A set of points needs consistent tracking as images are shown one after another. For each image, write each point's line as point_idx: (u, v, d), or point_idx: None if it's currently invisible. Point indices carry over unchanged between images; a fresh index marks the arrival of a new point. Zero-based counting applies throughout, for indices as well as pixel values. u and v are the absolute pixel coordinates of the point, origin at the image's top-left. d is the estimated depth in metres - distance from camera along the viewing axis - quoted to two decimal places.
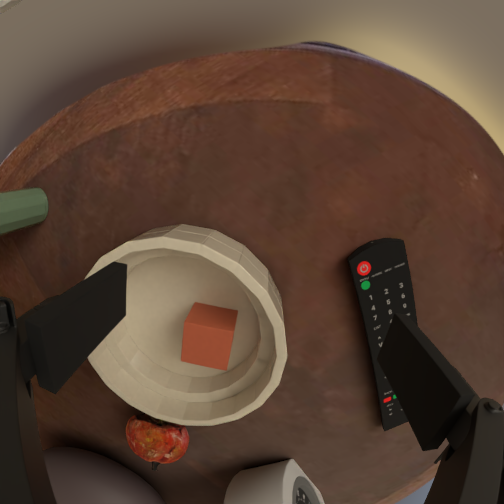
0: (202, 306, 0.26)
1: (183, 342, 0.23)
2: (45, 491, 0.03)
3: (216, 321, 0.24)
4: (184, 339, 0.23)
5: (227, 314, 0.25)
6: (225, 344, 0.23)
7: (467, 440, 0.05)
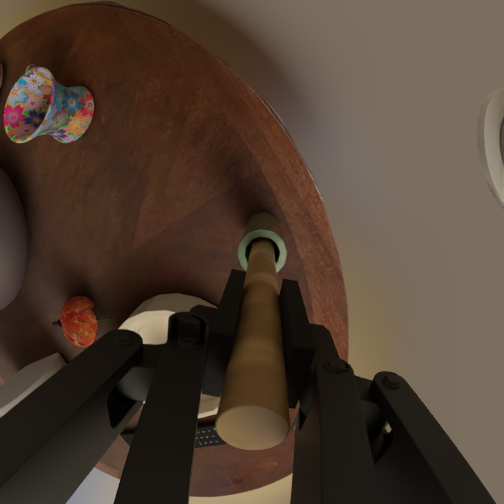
0: None
1: None
2: None
3: None
4: None
5: None
6: None
7: (313, 409, 0.07)
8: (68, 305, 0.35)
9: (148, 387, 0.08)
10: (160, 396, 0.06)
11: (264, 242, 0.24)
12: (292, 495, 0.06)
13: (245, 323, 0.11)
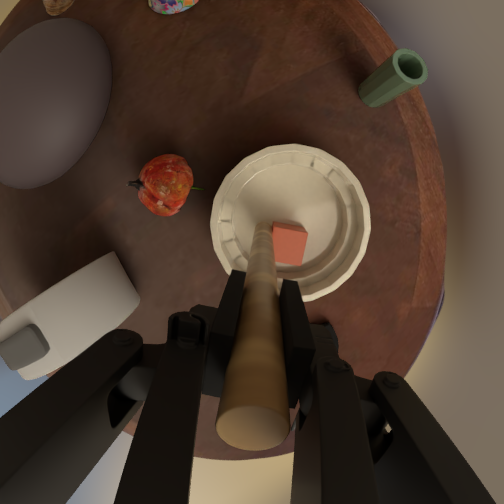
0: None
1: (291, 230, 0.33)
2: None
3: None
4: (293, 231, 0.33)
5: None
6: (290, 260, 0.34)
7: (313, 409, 0.07)
8: (156, 157, 0.32)
9: (148, 387, 0.08)
10: (160, 396, 0.06)
11: (264, 242, 0.24)
12: (292, 495, 0.06)
13: (245, 323, 0.11)
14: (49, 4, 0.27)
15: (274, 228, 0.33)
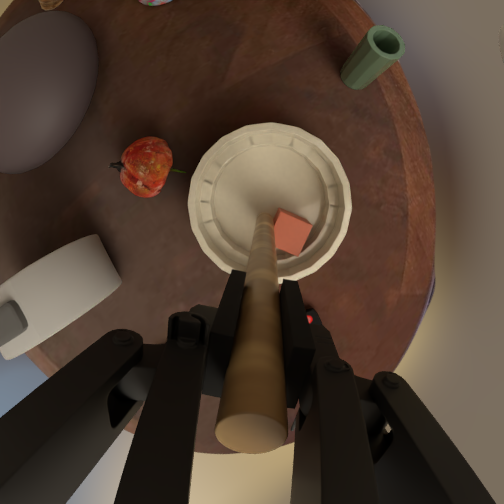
0: None
1: (296, 219, 0.33)
2: None
3: None
4: (299, 221, 0.33)
5: None
6: (289, 249, 0.34)
7: (313, 409, 0.07)
8: (137, 140, 0.31)
9: (148, 387, 0.08)
10: (161, 396, 0.06)
11: (263, 235, 0.24)
12: (292, 495, 0.06)
13: (241, 326, 0.11)
14: None
15: (280, 213, 0.33)
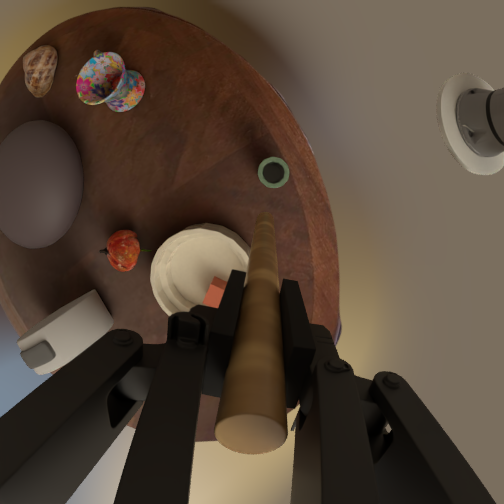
0: None
1: (221, 289, 0.50)
2: None
3: None
4: (223, 290, 0.50)
5: None
6: (217, 307, 0.51)
7: (313, 409, 0.07)
8: (116, 234, 0.48)
9: (148, 387, 0.08)
10: (160, 396, 0.06)
11: (263, 235, 0.24)
12: (292, 495, 0.06)
13: (240, 327, 0.11)
14: (32, 90, 0.43)
15: (210, 285, 0.50)
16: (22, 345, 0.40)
